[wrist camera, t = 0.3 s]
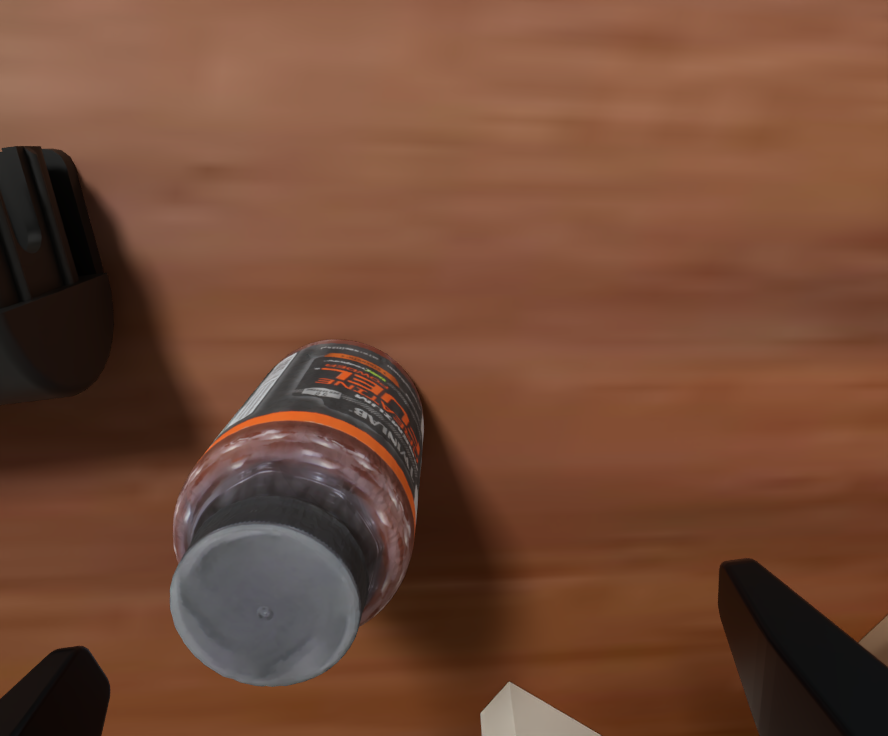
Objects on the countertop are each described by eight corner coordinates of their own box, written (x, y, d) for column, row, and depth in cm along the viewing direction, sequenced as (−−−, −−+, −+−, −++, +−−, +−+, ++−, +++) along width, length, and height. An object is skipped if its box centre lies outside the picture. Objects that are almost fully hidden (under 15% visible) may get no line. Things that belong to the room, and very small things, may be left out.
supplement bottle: (456, 386, 25) (468, 572, 14) (374, 514, 26) (327, 770, 15) (307, 301, 24) (195, 429, 13) (231, 439, 25) (74, 656, 14)
